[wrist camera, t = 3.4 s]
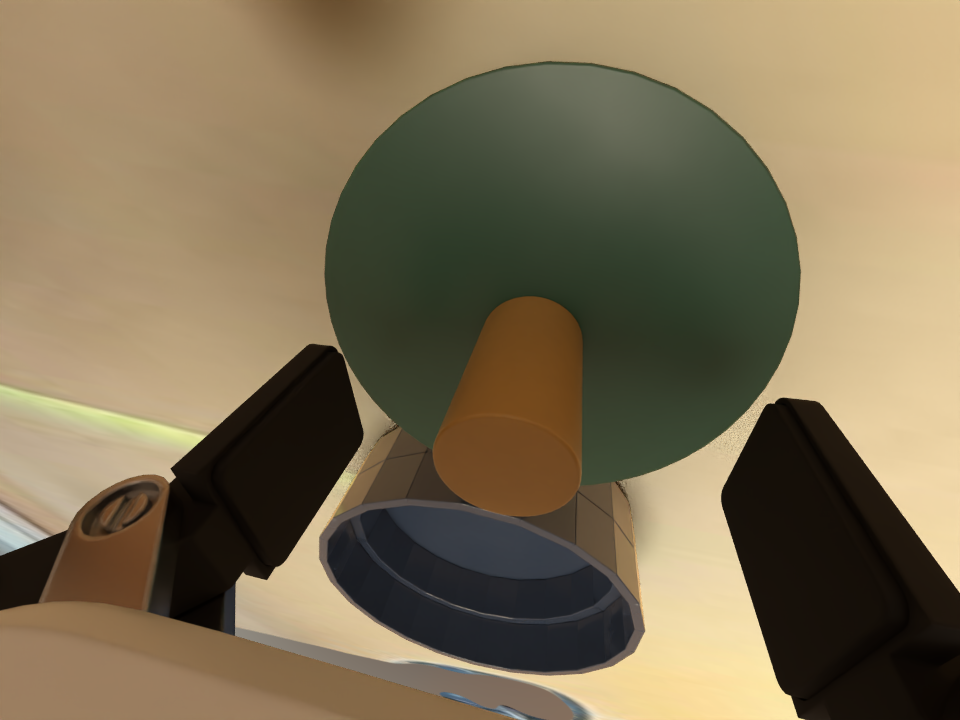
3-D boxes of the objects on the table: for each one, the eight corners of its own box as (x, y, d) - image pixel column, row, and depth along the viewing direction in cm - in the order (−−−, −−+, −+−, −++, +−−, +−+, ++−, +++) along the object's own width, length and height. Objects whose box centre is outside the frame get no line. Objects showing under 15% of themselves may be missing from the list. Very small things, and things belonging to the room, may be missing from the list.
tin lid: (379, 440, 18) (300, 573, 13) (289, 75, 10) (13, 62, 5) (698, 488, 15) (752, 679, 10) (901, 48, 8) (1481, -24, 3)
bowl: (388, 555, 33) (355, 634, 28) (340, 390, 23) (275, 470, 18) (606, 601, 30) (610, 700, 25) (663, 431, 19) (689, 544, 15)
